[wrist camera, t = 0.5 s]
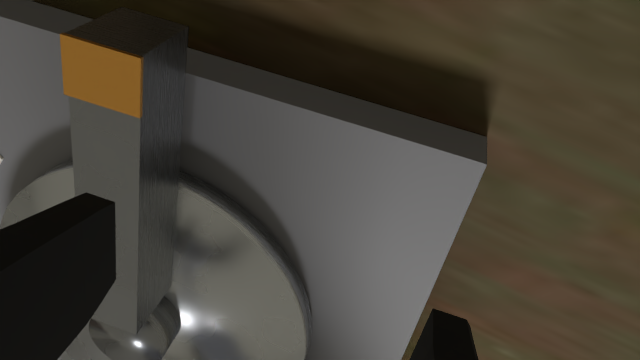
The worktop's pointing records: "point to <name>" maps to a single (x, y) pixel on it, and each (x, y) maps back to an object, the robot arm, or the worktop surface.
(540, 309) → the worktop surface
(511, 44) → the worktop surface
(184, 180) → the dial
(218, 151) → the dial plate
